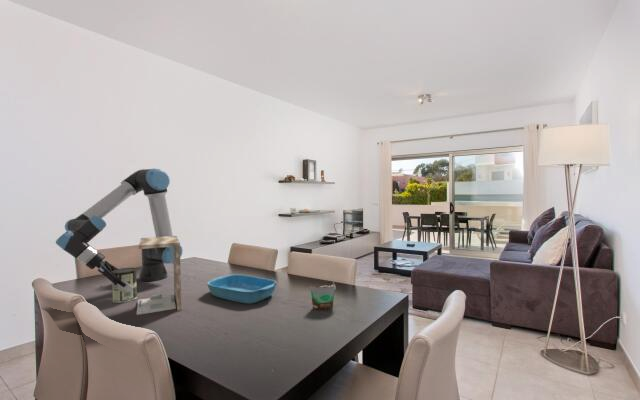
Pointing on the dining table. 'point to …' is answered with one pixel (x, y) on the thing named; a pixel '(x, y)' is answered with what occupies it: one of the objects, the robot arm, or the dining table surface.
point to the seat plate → (156, 304)
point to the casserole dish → (242, 288)
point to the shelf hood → (173, 242)
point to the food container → (323, 296)
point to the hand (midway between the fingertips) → (131, 286)
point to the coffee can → (120, 293)
